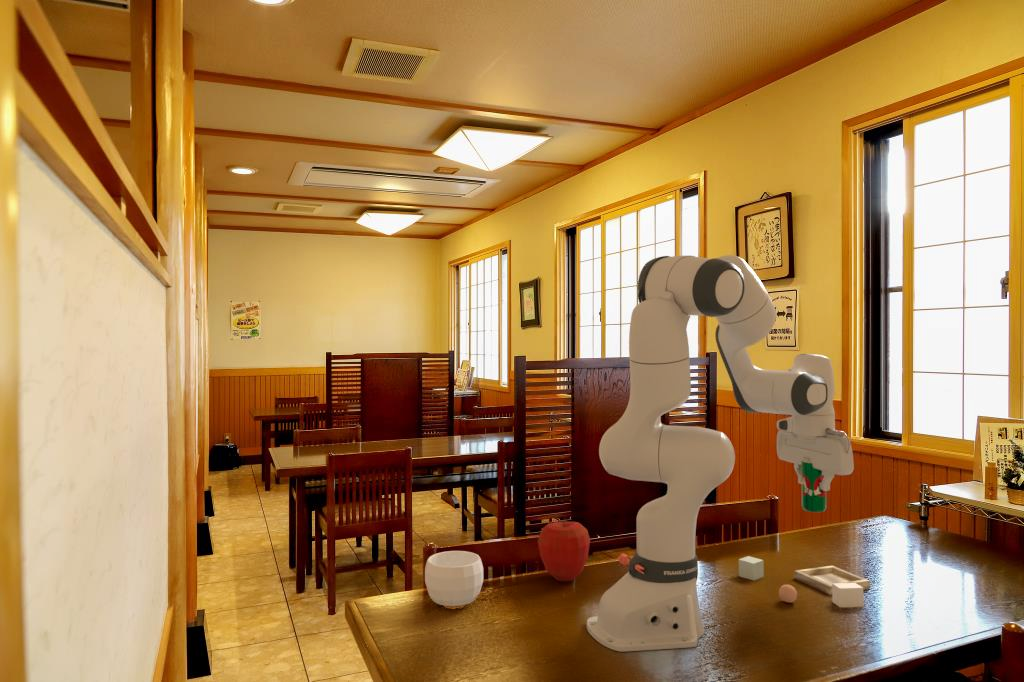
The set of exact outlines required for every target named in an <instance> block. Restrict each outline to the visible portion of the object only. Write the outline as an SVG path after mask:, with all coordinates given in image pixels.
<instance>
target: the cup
mask: <svg viewBox="0 0 1024 682" xmlns="http://www.w3.org/2000/svg"><path fill="white" fill-rule="evenodd" d="M483 565H484V564H483V562H482V559H481V557H480V556H479V554H477V553H474V552H471V551H466V550H450V551H449V550H448V551H442V552H438V553H434V554H432V555H430V556H429V557H428V558H427V560H426V563H425V568H424V582H425V586H426V590H427V594H428V596H429V598H431V600H432V602H434V603H435V604H437V605H440V606H441V605H443V606H447V607H460V606H464V605H466V604H468V605H469V604H471V603H473V602H474V601H475V600H476V599H477V598H478V596H479V594H480V593H481V589H482V586H483V583H484V566H483Z"/></svg>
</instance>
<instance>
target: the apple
mask: <svg viewBox="0 0 1024 682" xmlns="http://www.w3.org/2000/svg"><path fill="white" fill-rule="evenodd" d="M590 543H591V538H590V535H589V531H588V529H587V528H586V527H585V526H583V524H581V523H580V522H578V521H577V522H576V521H566V518H564V519H563V521H554V522H550V523H548V524H546V525H545V526H544V527H543V528H541V530H540V533H539V537H538V539H537V546H538V551H539V556H540V559H541V561H542V563H543V566H544V568H545V570H546V572H547V573H548V574H549V575H551V576H552V577H553V578H554V579H555V580H557V581H559V582H572V581H574V580H575V579H576V578H577V577H578V576H579V575H580V574H582V573H583V570H584V568H585V565H586V564H587V563H586V562H587V559H588V557H589V551H590V545H591V544H590Z"/></svg>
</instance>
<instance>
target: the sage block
mask: <svg viewBox="0 0 1024 682" xmlns="http://www.w3.org/2000/svg"><path fill="white" fill-rule="evenodd" d="M764 563H765V562H764V560H763V559H762V558H761V559H760V558H757V557H753V556H750V555H747V556H744V557H741V558H739V559H738V577H741V578H744V579H747V580H751V581H757V580H759V579H761V578H764V575H765V574H764V573H765V572H764V570H765V569H764V568H765V566H764V565H765V564H764Z"/></svg>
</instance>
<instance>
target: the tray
mask: <svg viewBox="0 0 1024 682" xmlns="http://www.w3.org/2000/svg"><path fill="white" fill-rule="evenodd" d="M793 575H794V577H793V578H794V580H797V581H799V582H802V583H804V584H806V585H808V586H810V587H812V588H815V589H816V590H819V591H821V592H823V593H825V594H828V595H830V596H832V583H856V584H858V585H860V586H861V587H863V591H864V590H870V589H871V581H870V580H869V579H866V578H864V577H862V576H860V575H858V574H854V573H851V572H849V571H847V570H845V569H842V568H840V567H837V566H834V565H827V566H819V567H812V568H805V569H796V570H794V574H793Z"/></svg>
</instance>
